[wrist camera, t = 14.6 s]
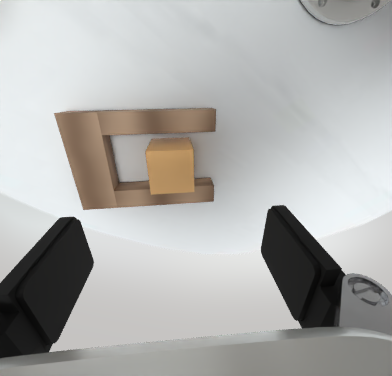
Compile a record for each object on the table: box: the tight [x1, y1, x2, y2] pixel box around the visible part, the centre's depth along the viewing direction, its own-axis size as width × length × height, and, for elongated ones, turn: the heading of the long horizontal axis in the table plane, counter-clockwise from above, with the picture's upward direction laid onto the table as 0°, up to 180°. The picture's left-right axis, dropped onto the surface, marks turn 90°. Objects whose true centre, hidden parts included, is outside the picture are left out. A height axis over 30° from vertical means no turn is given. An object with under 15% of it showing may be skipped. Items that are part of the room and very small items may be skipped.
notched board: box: [54, 108, 216, 210], centre depth 23 cm, size 16×11×2 cm
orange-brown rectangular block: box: [145, 137, 194, 195], centre depth 22 cm, size 4×4×6 cm
